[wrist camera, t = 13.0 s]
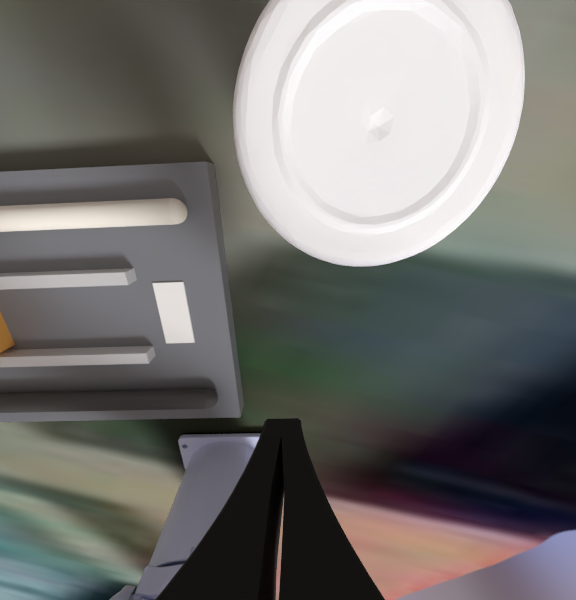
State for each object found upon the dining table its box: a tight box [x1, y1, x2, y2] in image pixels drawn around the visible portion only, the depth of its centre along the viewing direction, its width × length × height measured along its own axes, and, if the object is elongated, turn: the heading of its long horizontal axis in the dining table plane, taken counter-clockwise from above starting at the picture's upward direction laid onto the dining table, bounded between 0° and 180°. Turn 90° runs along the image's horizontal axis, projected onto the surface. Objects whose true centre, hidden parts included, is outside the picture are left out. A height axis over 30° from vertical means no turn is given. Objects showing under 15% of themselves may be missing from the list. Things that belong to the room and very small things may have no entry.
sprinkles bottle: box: [233, 0, 525, 266], centre depth 10 cm, size 5×5×14 cm
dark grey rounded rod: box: [0, 388, 218, 413], centre depth 20 cm, size 1×21×1 cm, turn 92°
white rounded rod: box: [0, 198, 188, 232], centre depth 16 cm, size 1×21×1 cm, turn 92°
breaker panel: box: [0, 161, 244, 422], centre depth 19 cm, size 18×24×2 cm
